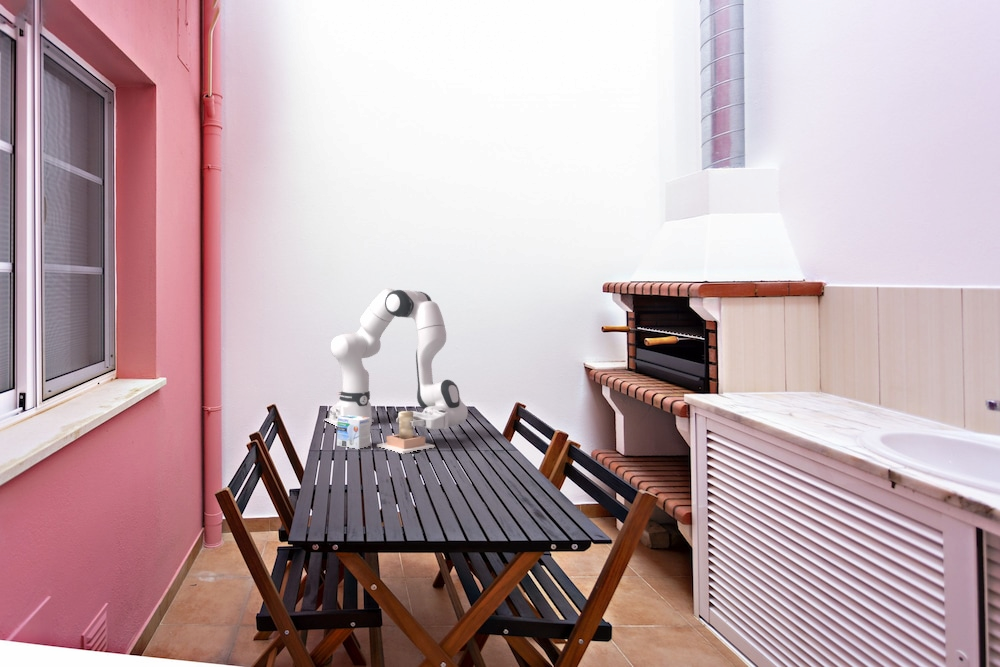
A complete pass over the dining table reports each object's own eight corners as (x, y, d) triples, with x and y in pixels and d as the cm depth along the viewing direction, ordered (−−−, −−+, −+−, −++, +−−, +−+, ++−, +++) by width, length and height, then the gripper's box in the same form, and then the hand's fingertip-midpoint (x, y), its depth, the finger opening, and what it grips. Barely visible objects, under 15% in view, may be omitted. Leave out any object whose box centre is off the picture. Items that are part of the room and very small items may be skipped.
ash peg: (396, 444, 261) (396, 412, 260) (406, 442, 264) (407, 410, 264) (405, 446, 257) (405, 414, 257) (415, 444, 261) (416, 412, 260)
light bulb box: (336, 446, 260) (336, 417, 260) (348, 442, 266) (348, 414, 266) (359, 449, 255) (359, 420, 255) (371, 446, 261) (371, 417, 261)
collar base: (376, 446, 260) (376, 436, 260) (408, 441, 271) (408, 430, 271) (402, 454, 250) (403, 442, 250) (434, 447, 261) (434, 437, 261)
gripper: (414, 406, 277) (386, 409, 266) (451, 413, 263) (422, 417, 253) (414, 422, 277) (386, 426, 267) (450, 430, 263) (422, 434, 253)
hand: (404, 422), depth 260 cm, fingers open, 6 cm apart
